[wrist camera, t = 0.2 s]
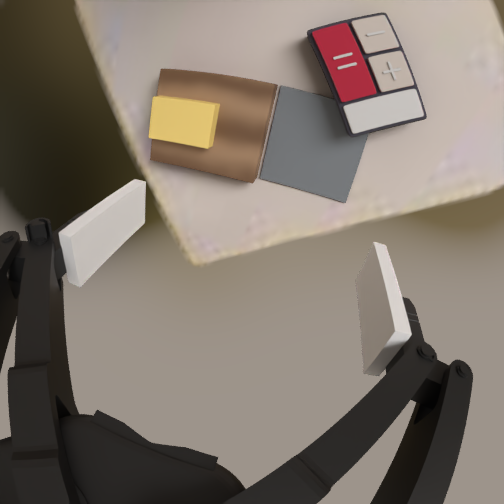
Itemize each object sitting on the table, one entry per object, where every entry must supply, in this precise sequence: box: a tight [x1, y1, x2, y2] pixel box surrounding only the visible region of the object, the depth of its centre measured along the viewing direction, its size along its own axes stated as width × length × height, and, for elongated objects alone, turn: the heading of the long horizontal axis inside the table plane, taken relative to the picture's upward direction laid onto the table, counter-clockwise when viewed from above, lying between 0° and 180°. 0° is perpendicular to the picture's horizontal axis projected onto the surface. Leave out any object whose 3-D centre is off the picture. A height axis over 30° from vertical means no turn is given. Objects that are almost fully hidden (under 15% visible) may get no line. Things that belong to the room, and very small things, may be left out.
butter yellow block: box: [149, 96, 220, 149], centre depth 37 cm, size 6×9×2 cm, turn 78°
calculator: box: [307, 13, 427, 137], centre depth 30 cm, size 11×4×15 cm
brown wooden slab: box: [150, 69, 278, 183], centre depth 39 cm, size 14×16×3 cm
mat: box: [260, 86, 368, 203], centre depth 39 cm, size 14×13×1 cm
